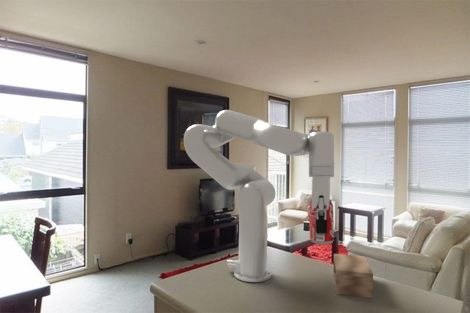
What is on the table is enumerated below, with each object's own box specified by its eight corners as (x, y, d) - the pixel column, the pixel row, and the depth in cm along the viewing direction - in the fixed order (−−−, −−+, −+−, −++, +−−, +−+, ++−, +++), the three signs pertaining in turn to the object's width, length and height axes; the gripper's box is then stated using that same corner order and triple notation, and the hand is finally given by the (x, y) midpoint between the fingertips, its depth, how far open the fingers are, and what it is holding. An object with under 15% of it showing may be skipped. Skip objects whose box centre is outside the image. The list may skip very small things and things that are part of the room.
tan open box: (336, 293, 91) (336, 270, 91) (333, 273, 107) (333, 253, 107) (372, 298, 89) (373, 273, 89) (364, 277, 104) (364, 256, 104)
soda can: (335, 246, 91) (334, 201, 91) (309, 244, 92) (309, 200, 92) (332, 239, 98) (332, 198, 98) (309, 238, 99) (309, 198, 99)
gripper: (310, 170, 104) (310, 223, 104) (307, 173, 88) (307, 236, 88) (333, 171, 102) (333, 225, 102) (334, 173, 86) (335, 238, 85)
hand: (321, 229), depth 95 cm, fingers closed on soda can, 6 cm apart
